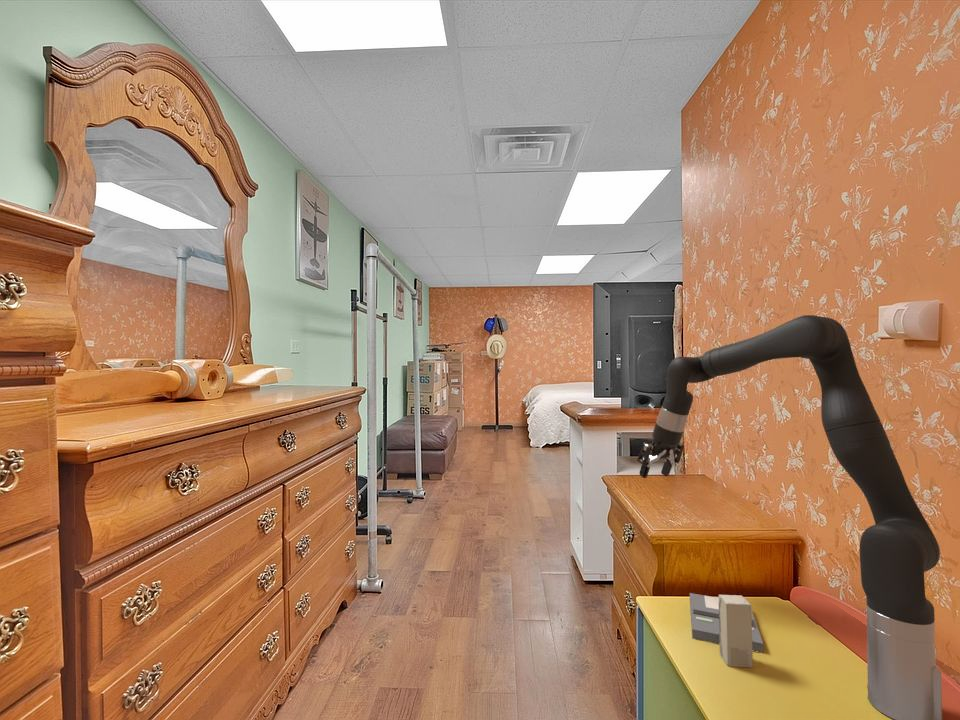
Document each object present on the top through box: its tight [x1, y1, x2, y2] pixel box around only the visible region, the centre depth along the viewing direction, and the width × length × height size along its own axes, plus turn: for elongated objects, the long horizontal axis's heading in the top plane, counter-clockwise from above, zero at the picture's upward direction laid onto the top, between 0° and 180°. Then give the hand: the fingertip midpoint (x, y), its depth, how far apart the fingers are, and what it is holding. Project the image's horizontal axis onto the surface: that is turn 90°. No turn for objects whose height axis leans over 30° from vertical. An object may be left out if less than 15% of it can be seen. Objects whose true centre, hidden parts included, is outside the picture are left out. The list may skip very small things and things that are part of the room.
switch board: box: [689, 592, 764, 654], centre depth 113 cm, size 14×20×2 cm
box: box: [718, 594, 754, 668], centre depth 98 cm, size 5×4×13 cm
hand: (653, 475), depth 135 cm, fingers open, 8 cm apart
